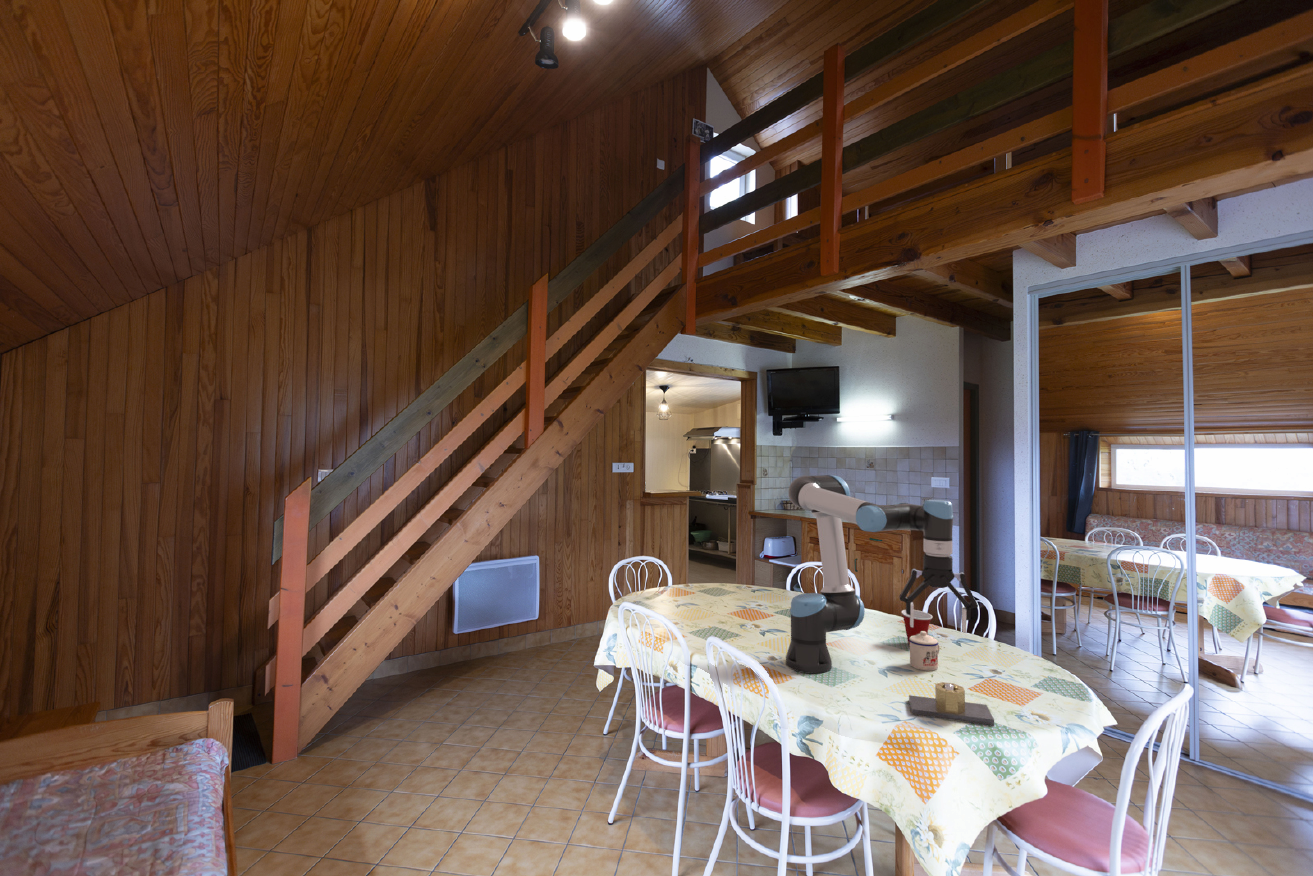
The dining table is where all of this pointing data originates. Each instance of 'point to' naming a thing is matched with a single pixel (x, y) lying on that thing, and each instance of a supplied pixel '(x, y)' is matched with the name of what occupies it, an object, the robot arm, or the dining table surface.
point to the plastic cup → (916, 623)
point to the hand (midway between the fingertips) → (937, 628)
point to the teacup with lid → (924, 652)
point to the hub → (950, 698)
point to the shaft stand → (929, 709)
